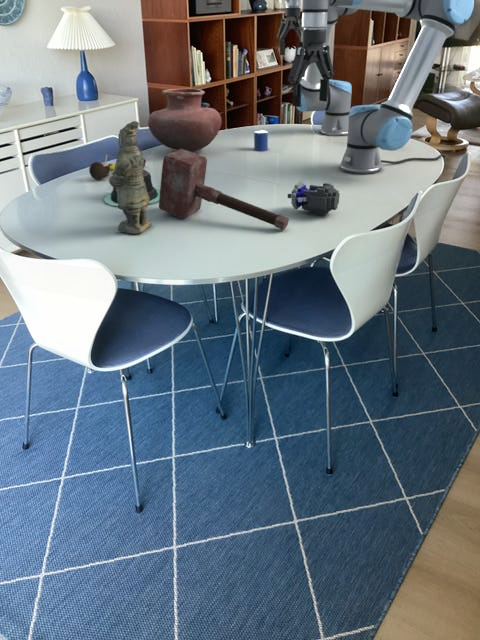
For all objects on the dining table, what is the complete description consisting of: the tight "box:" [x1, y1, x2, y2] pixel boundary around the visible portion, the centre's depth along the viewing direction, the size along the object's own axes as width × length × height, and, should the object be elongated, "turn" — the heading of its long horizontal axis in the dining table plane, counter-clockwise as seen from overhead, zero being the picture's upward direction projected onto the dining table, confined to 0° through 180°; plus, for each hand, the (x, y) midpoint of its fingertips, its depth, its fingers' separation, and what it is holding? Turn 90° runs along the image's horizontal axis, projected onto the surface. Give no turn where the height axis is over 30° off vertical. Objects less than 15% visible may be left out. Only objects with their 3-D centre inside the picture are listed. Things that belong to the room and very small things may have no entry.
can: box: [253, 130, 269, 152], centre depth 240 cm, size 6×6×8 cm
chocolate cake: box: [103, 168, 160, 207], centre depth 186 cm, size 15×19×20 cm
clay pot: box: [147, 87, 223, 153], centre depth 235 cm, size 30×30×25 cm
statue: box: [108, 120, 153, 235], centre depth 154 cm, size 11×9×30 cm
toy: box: [287, 180, 341, 216], centre depth 168 cm, size 9×9×15 cm
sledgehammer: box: [158, 149, 290, 231], centre depth 163 cm, size 17×10×40 cm
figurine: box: [88, 154, 147, 181], centre depth 212 cm, size 13×8×25 cm
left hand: (291, 55), depth 278 cm, fingers open, 13 cm apart
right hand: (310, 103), depth 177 cm, fingers open, 13 cm apart
